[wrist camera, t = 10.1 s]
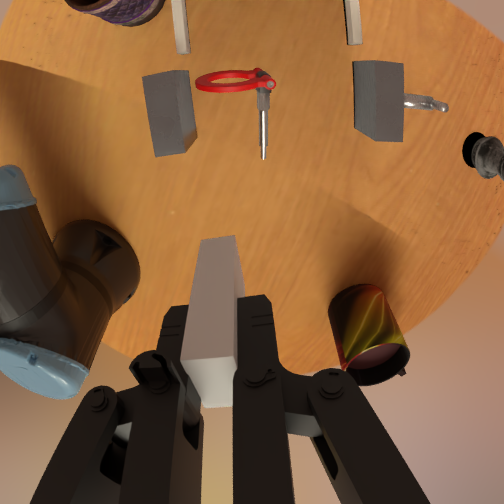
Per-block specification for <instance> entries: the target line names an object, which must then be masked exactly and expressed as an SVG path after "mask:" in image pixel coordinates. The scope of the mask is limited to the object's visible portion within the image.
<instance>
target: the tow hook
mask: <svg viewBox="0 0 504 504" xmlns="http://www.w3.org/2000/svg"><path fill="white" fill-rule="evenodd" d="M222 78H246V79H250V80H247V81H243V82H237V83H224V84H222V83H211V81H214V80H217V79H222ZM195 84H196V88H197V89H199V90H202V91H206V92H217V93H224V92H239V91H245V90H250V89H254V88H256V90H257V108H258V110H259V146H261V159H265V158H266V146H268V110H269V108H270V97H269V96H270V93H271V89H274V88H275V86H276V82H275V81H274V80H273V79H272V78H271V76H270V75H269V74H268V73H266V72H265V71H263V70H262V69H260V68H255V69H254V70H250V71H244V70H229V71H219V72H214V73H209V74H206V75H203V76H201V77H199V78H197V79H196V80H195Z"/></svg>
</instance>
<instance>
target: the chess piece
mask: <svg viewBox="0 0 504 504" xmlns="http://www.w3.org/2000/svg"><path fill="white" fill-rule="evenodd" d="M462 154H463V159H464V161H465V163H466V164H467V165H468V166H470V167H472V168H476V170H477V171H478V173H479V174H480V175H481V176H482V177H484V178H487V179H490V178H493V177H495V176H496V175H497V174H498V175H499V176H500V178H501V179H502V180H503V181H504V147H503V145H502V143H501V141H500V140H499V139H497V138H496V137H492V136H491V137H485V136H484V135H483V134H482V133H479V132H473V133H471V134H470V135H469V136H468V137H467V138H466V139H465V141H464V144H463V149H462Z"/></svg>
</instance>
